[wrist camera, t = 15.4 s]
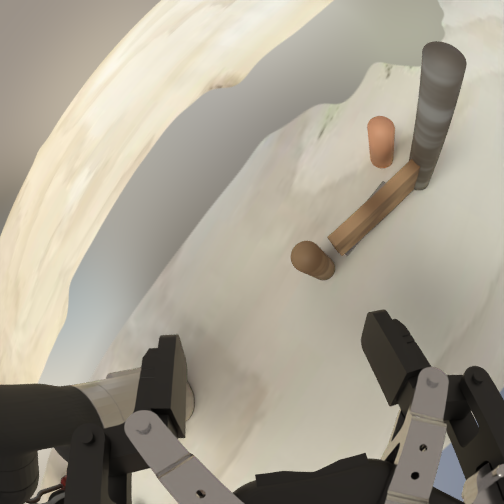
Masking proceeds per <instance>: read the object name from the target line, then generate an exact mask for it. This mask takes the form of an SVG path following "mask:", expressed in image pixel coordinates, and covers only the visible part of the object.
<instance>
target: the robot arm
mask: <svg viewBox="0 0 504 504" xmlns="http://www.w3.org/2000/svg"><path fill="white" fill-rule="evenodd" d="M361 344H362V349H363V351H364V353H365V355H366V357H367V359H368V361H369V363H370V366H371V368H372V370H373V372H374V374H375V376H376V378H377V380H378V382H379V384H380V387H381V389H382V391H383V393H384V395H385V397H386V400H387V402H388V404H389V406H393V405H396V404H399V406H400V410H399V412H398V415H397V418H396V422H395V425H394V428H393V431H392V434H391V437H390V440H389V443H388V445H387V447H386V449H385V451H384V453H383V455H382V457H381V459H380V460H379V459H367V456H366V453H363V454H360V455H356V456H352V457H349V458H345V459H341V460H338V461H337V462H335V463H332V464H330V465H328V466H326V467H324V468H322V469H320V470H318V471H315V472H293V471H280V472H273V473H265V474H257V475H255V476H256V480H255V481H252V482H249V483H247V484H245V485H243V486H241V487H240V488H238V489H237V490H236V491H234V492H233V493H232V492H231V491H230V490H229V489H228V488H226V487H225V486H224V485H223V484H222V483H221V482H220V481H219V480H218V479H217V478H216V477H215V476H214V475H213V474H212V473H211V472H210V471H209V470H208V469H207V468H206V467H205V466H204V465H203V464H202V463H201V462H200V461H199V460H198V459H197V458H196V457H195V456H194V455H193V454H191V453H189V452H188V451H187V449H186V448H185V447H184V446H183V445H182V444H181V443H180V442H179V440H178V438H185V422H186V421H187V420H188V419H189V418H190V416H191V415H192V413H193V409H194V397H193V393H192V390H191V388H190V386H189V384H188V382H187V364H186V359H185V355H184V352H183V348H182V345H181V341H180V337H179V335H161V336H160V338H159V344H158V348H149V350H148V351H147V353H146V354H145V356H144V357H143V360H142V366H141V367H140V368H135V369H130V370H125V371H119V372H114V373H109V374H108V375H107V377H106V379H104V380H98V381H93V382H87V383H82V384H75V385H69V386H61V387H60V386H52V385H46V384H20V385H0V504H24V503H25V502H26V501H28V500H29V499H30V498H31V497H32V495H33V494H34V492H35V490H36V488H37V485H38V480H39V466H38V453H37V451H38V450H42V449H47V448H53V447H54V448H55V450H56V451H57V452H58V453H59V455H60V456H61V457H62V458H63V459H65V460H66V461H67V462H68V468H67V477H66V486H65V497H64V504H132V499H131V477H132V472H136V471H140V470H144V469H148V468H151V469H152V471H153V472H154V473H155V475H156V476H157V478H158V479H159V481H160V482H161V483H162V484H163V486H164V487H165V488H166V489H167V490H168V492H169V493H170V494H171V495H172V496H173V497H174V499H175V500H176V501H177V502H178V503H179V504H504V400H503V398H502V396H501V395H500V393H499V391H498V389H497V388H496V386H495V384H494V383H493V381H492V379H491V378H490V376H489V374H488V373H487V372H486V371H485V370H484V369H483V368H481V367H478V366H472V367H469V368H468V369H467V370H466V371H465V373H464V374H463V375H446V374H445V373H444V372H443V371H442V370H441V369H439V368H436V367H431V365H430V364H429V362H428V361H427V359H426V358H425V356H424V354H423V353H422V351H421V350H420V348H419V346H418V345H417V343H416V342H415V340H414V339H413V337H412V336H411V335H410V333H409V331H408V329H407V328H406V326H405V325H403V324H402V323H401V322H400V321H398V320H397V319H393V320H392V319H391V317H390V316H389V314H388V313H387V311H386V310H379V311H373V312H369V313H368V314H367V317H366V321H365V325H364V329H363V333H362V337H361ZM471 410H472V412H473V414H474V417H475V419H476V421H477V423H478V425H479V427H478V425H477V423H476V421H475V419H474V417H473V415H472V413H471ZM446 431H447V433H448V436H449V438H450V441H451V443H452V445H453V448H454V450H455V453H456V455H457V457H458V460H459V463H460V465H461V468H462V471H463V473H464V475H465V478H466V482H465V484H464V487H463V492H462V498H463V499H464V502H462V501H460V500H458V499H456V498H454V497H452V496H450V495H448V494H446V493H444V492H442V491H440V490H438V489H436V488H435V487H433V483H434V480H435V476H436V473H437V469H438V465H439V461H440V457H441V453H442V448H443V444H444V439H445V434H446Z"/></svg>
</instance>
